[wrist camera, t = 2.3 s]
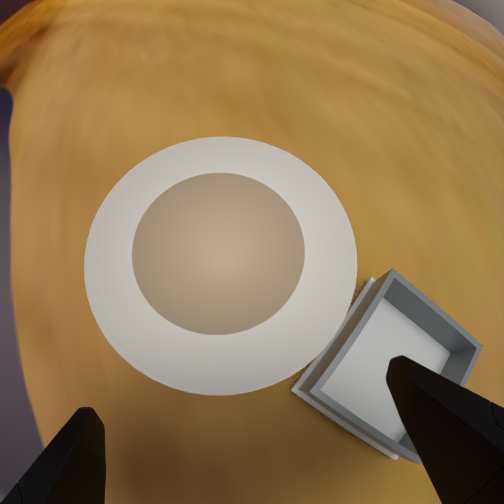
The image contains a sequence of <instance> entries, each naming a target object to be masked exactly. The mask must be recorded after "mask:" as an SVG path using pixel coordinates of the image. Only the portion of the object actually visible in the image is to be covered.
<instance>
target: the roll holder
mask: <svg viewBox="0 0 504 504" xmlns="http://www.w3.org/2000/svg"><path fill="white" fill-rule="evenodd" d="M481 348H482V345H481V344H480V343H479V342H478V341H477V340H476V339H475V338H474V337H472V336H471V335H470V334H469V333H468V332H467V331H466V330H465V329H464V328H462V327H461V326H460V325H459V324H458V323H457V322H456V321H455V320H453V319H452V318H451V317H450V316H449V315H448V314H447V313H445V312H444V311H443V310H442V309H441V308H440V307H438V306H437V305H436V304H435V303H434V302H433V301H431V300H430V299H429V298H428V297H427V296H425V295H424V294H423V293H422V292H421V291H419V290H418V289H417V288H416V287H415V286H413V285H412V284H411V283H410V282H409V281H407V280H406V279H405V278H404V277H402V276H401V275H400V274H399V273H397V272H396V271H395V270H394V269H391V270H390V271H388V272H387V273H386V274H384V275H383V276H382V277H380V278H379V279H378V280H375V279H374V278H373V277H371V278H369V279H368V281H367V282H366V284H365V285H364V287H363V289H362V290H361V292H360V293H359V295H358V296H357V298H356V299H355V301H354V302H353V304H352V305H351V307H350V308H349V310H348V312H347V314H346V316H345V319H344V321H343V323H342V324H341V326H340V328H339V329H338V331H337V333H336V334H335V336H334V337H333V339H332V340H331V341H330V342H329V344H328V345H327V346H326V347H325V348H324V350H323V351H322V352H321V353H320V354H319V355H318V356H317V357H315V358H314V359H313V360H312V362H311V363H310V364H309V366H308V367H307V368H306V369H305V371H304V372H303V373H302V375H301V376H300V377H299V379H298V380H297V381H296V382H295V384H294V385H293V386H292V387H291V389H290V390H291V391H292V392H294V393H295V394H296V395H298V396H299V397H300V398H302V399H303V400H305V401H306V402H307V403H309V404H310V405H312V406H313V407H314V408H316V409H317V410H319V411H320V412H322V413H323V414H324V415H326V416H327V417H329V418H330V419H332V420H333V421H335V422H336V423H338V424H339V425H341V426H342V427H343V428H345V429H346V430H348V431H349V432H351V433H353V434H354V435H356V436H357V437H359V438H360V439H362V440H363V441H365V442H366V443H368V444H370V445H371V446H373V447H374V448H376V449H377V450H379V451H381V452H382V453H384V454H385V455H387V456H389V457H390V458H392V459H394V460H397V459H398V457H399V456H400V457H402V458H404V459H407V460H409V461H412V462H414V463H417V464H419V463H420V461H421V459H420V457H419V455H418V453H417V451H416V449H415V447H414V445H413V443H412V441H411V439H410V437H409V435H408V433H407V432H406V430H405V428H404V426H403V424H402V422H401V419H400V417H399V414H398V412H397V409H396V406H395V404H394V401H393V398H392V396H391V393H390V391H389V388H388V386H387V383H386V373H387V369H388V365H389V361H390V360H391V358H394V357H397V356H400V355H404V356H406V357H408V358H410V359H412V360H413V361H415V362H417V363H419V364H421V365H423V366H425V367H427V368H428V369H430V370H432V371H434V372H436V373H438V374H440V375H442V376H443V377H445V378H447V379H449V380H451V381H453V382H455V383H457V384H459V385H460V386H462V387H464V386H465V384H466V382H467V380H468V378H469V376H470V373H471V371H472V369H473V367H474V365H475V362H476V360H477V358H478V355H479V353H480V351H481Z"/></svg>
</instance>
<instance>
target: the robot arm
mask: <svg viewBox="0 0 504 504" xmlns="http://www.w3.org/2000/svg"><path fill="white" fill-rule="evenodd" d="M386 383H387V386H388V388H389V391H390V393H391V396H392V398H393V401H394V404H395V406H396V409H397V412H398V414H399V417H400V419H401V422H402V424H403V426H404V428H405V430H406V432H407V433H408V435H409V437H410V439H411V441H412V443H413V445H414V447H415V449H416V451H417V453H418V455H419V457H420V459H421V461H422V463H423V465H424V467H425V469H426V471H427V473H428V475H429V477H430V479H431V482H432V484H433V486H434V488H435V490H436V492H437V494H438V496H439V498H440V500H441V503H442V504H504V408H503V407H501V406H499V405H497V404H495V403H493V402H490V401H489V400H487V399H485V398H483V397H481V396H479V395H478V394H476V393H474V392H472V391H470V390H468V389H466V388H464V387H462V386H460V385H459V384H457V383H455V382H453V381H451V380H449V379H447V378H445V377H443V376H442V375H440V374H438V373H436V372H434V371H432V370H430V369H428V368H427V367H425V366H423V365H421V364H419V363H417V362H415V361H413V360H412V359H410V358H408V357H406V356H404V355H400V356H397V357H394V358H391V360H390V361H389V365H388V369H387V373H386ZM105 481H106V460H105V428H104V424H103V422H102V421H101V419H100V418H99V416H98V415H97V413H96V412H95V410H94V409H93V408H91V407H80V408H79V409H78V410H77V411H76V412H75V413H74V414H73V416H72V417H71V418H70V419H69V420H68V422H67V423H66V424H65V425H64V426H63V427H62V429H61V430H60V431H59V432H58V433H57V435H56V436H55V437H54V438H53V439H52V441H51V442H50V443H49V444H48V446H47V447H46V448H45V449H44V450H43V452H42V453H41V454H40V455H39V456H38V458H37V459H36V460H35V462H34V463H33V464H32V465H31V467H30V468H29V469H28V470H27V471H26V472H25V474H24V475H23V476H22V478H21V479H20V480H19V483H17V484H16V485H15V486H14V487H13V489H12V490H11V491H10V492H9V493H8V495H7V496H6V497H5V498H4V499H3V501H2V502H1V503H0V504H104V503H105Z"/></svg>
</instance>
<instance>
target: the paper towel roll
mask: <svg viewBox="0 0 504 504" xmlns="http://www.w3.org/2000/svg"><path fill="white" fill-rule="evenodd" d="M356 276H357V251H356V245H355V239H354V234H353V231H352V228H351V225H350V221H349V219H348V217H347V214H346V212H345V210H344V208H343V206H342V204H341V203H340V201H339V199H338V198H337V196H336V195H335V193H334V192H333V190H332V189H331V188H330V187H329V185H328V184H327V183H326V182H325V181H324V179H323V178H321V177H320V176H319V175H318V174H317V173H316V172H315V171H314V170H313V169H312V168H311V167H309V166H308V165H307V164H305V163H304V162H302V161H301V160H300V159H298V158H296V157H295V156H293V155H291V154H289V153H288V152H286V151H284V150H281V149H279V148H277V147H274V146H272V145H269V144H266V143H262V142H259V141H255V140H250V139H245V138H237V137H208V138H200V139H194V140H190V141H186V142H182V143H179V144H176V145H173V146H170V147H168V148H165V149H163V150H161V151H159V152H157V153H155V154H153V155H151V156H150V157H148V158H146V159H145V160H143V161H142V162H140V163H139V164H137V165H136V166H135V167H134V168H132V169H131V170H130V171H129V172H128V173H126V174H125V175H124V176H123V177H122V178H121V180H120V181H119V182H118V183H117V184H116V185H115V186H114V187H113V189H112V190H111V191H110V192H109V194H108V195H107V196H106V198H105V199H104V201H103V203H102V205H101V206H100V208H99V210H98V212H97V214H96V216H95V218H94V221H93V223H92V226H91V229H90V232H89V236H88V239H87V243H86V250H85V257H84V278H85V286H86V293H87V296H88V300H89V304H90V307H91V310H92V312H93V315H94V317H95V319H96V322H97V324H98V326H99V327H100V329H101V331H102V332H103V334H104V336H105V337H106V339H107V340H108V342H109V343H110V344H111V345H112V346H113V348H114V349H115V350H116V351H117V352H118V353H119V355H120V356H121V357H123V358H124V359H125V360H126V361H127V362H128V363H129V364H131V365H132V366H133V367H134V368H135V369H137V370H138V371H140V372H141V373H143V374H145V375H146V376H148V377H149V378H151V379H153V380H155V381H157V382H159V383H162V384H164V385H166V386H168V387H171V388H175V389H178V390H181V391H185V392H189V393H195V394H202V395H235V394H242V393H248V392H253V391H256V390H259V389H262V388H266V387H269V386H272V385H274V384H276V383H278V382H280V381H282V380H284V379H286V378H288V377H290V376H292V375H293V374H295V373H296V372H298V371H299V370H301V369H302V368H304V367H305V366H307V365H308V364H309V363H310V362H311V361H312V360H313V359H314V358H315V357H317V356H318V355H319V354H320V353H321V352H322V351H323V350H324V348H325V347H326V346H327V345H328V344H329V342H330V341H331V340H332V339H333V337H334V336H335V334H336V333H337V331H338V329H339V328H340V326H341V324H342V323H343V321H344V319H345V316H346V314H347V312H348V309H349V307H350V304H351V301H352V297H353V293H354V289H355V284H356Z"/></svg>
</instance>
